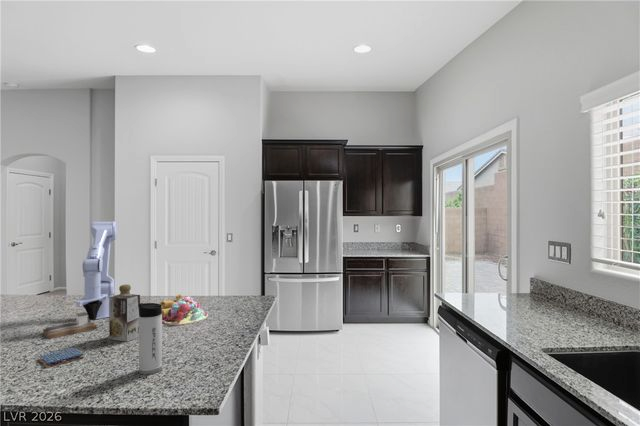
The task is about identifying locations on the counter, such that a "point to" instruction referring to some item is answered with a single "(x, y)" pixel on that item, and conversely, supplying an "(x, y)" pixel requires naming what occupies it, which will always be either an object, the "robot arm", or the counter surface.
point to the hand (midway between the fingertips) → (92, 319)
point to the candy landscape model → (181, 311)
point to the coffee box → (124, 317)
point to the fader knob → (81, 318)
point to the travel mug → (150, 338)
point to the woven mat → (60, 357)
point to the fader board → (68, 329)
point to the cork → (125, 289)
